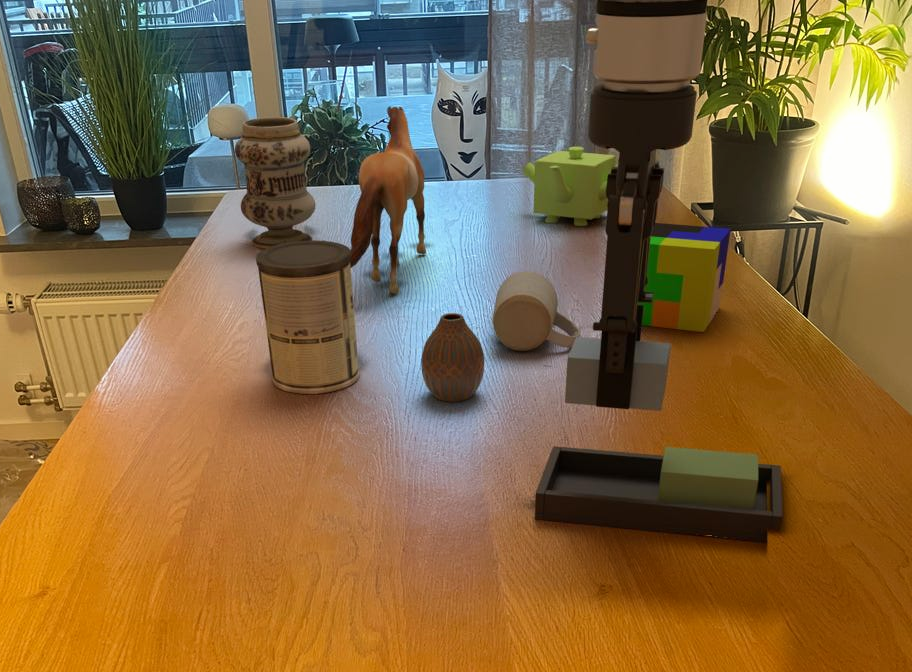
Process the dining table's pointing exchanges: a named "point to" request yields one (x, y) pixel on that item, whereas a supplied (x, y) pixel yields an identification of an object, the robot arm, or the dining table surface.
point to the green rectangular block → (709, 478)
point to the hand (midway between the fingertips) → (616, 392)
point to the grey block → (645, 377)
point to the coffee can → (309, 315)
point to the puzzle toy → (685, 275)
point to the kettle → (570, 184)
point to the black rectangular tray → (644, 497)
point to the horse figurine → (388, 196)
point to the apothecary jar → (275, 179)
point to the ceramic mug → (530, 313)
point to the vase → (452, 360)
